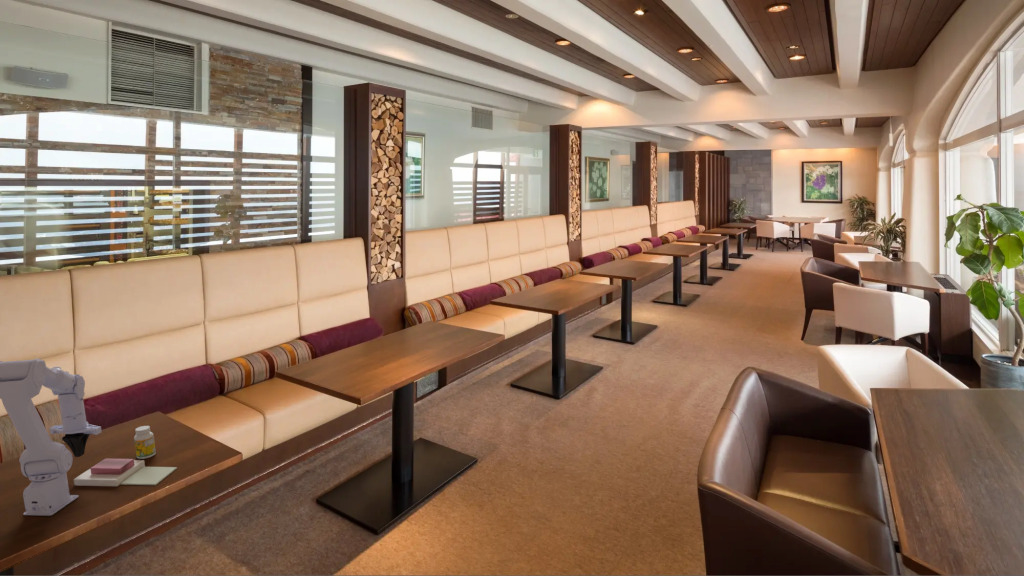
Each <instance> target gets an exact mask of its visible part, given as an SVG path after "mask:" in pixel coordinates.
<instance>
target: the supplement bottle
mask: <svg viewBox="0 0 1024 576" xmlns="http://www.w3.org/2000/svg"><path fill="white" fill-rule="evenodd" d="M134 431H135V435H134V437H133V441H134V442H133V443H134V448H135V455H136V456H135V457H136V458H137V459H138V460H144V459H149V458H151V457H153V456H155V455H156V454H157V453H156V444H155V443H156V442H155V436H154V433H153V432H152V431H151V426H150V425H141V426H138V427H137V428H135V430H134Z"/></svg>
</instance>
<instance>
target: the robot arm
mask: <svg viewBox="0 0 1024 576" xmlns="http://www.w3.org/2000/svg"><path fill="white" fill-rule="evenodd" d="M85 382H86V380H85V379H84V377H83V375H80V374H71V373H70V372H69V371H67V370H66V371H65V370H64V369H63V370H62V367H60V366H53V367H52V368H50V367H48V366H47V365H46V360H44V359H41V358H34V359H24V360H23V359H22V360H12V361H11V360H10V361H3V360H2V361H1V360H0V400H1V402H2V405H3V407H4V409H5V411H6V412H7V415H8V417H9V418H10V420H11V422H12V425H13V426H14V428H15V430H16V432H17V434H18V436H19V437H20V440H21V442H22V443H23V446H24V447H25V449H24V450H23V451H22V453H21V455H20V457H19V460H18V461H19V463H20V470H21V474H22V475H23V476H24V477H26V478H28V481H31V482H30V483H29V485H27V486H26V487H25V488H24V489H23V493H22V497H23V503H24V508H25V511H24V512H23V515H24V516H45V517H46V516H49V517H50V516H53V515H54V514H56V513H57V512H58V511H61V510H62V509H63V508H65V507H66V506H67V505H69V504H70V503H72V502H74V501H75V500H77V499H78V498H79V495H78V494H70V488H69V481H68V476H67V475H68V474H67V473H68V471H69V470H71V469H72V468H71V467H72V465H73V460H74V459H73V456H74V457H75V458H80V457H82V456H83V455H85V452H86V451H85V450H86V445H87V443H88V440H89V437H90V435H95V436H97V435H99V434H101V433H102V426H98V425H94V424H90V423H89V421H87V416H86V409H85V403H84V397H85V388H86V387H85V385H86V383H85ZM42 387H44V388H47V389H50V390H51V393H52V394H53V396H57V398H58V400H57V401H58V407H59V411H60V413H59V414H60V419H61V424H57V425H55V424H54V425H53V426H50V427H49V432H48V431H47V428H46V426H45V424H44V422H43V420H42V418H41V416H40V415H39V412H38V410H37V408H36V405H35V404H34V401H33V399H34V397H36V396H38V395H39V394H40V393H41V389H42ZM49 434H50V435H55V434H65V435H64V436H62V438H61V440H62V441H63V442H64V443H65V444H66V445H67V446H68V447H69V448H70V450H69V449H68V448H67V447H66V445H65V444H64V443H61V442H58V441H54V440H52V439H51V437H50V435H49Z"/></svg>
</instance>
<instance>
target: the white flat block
mask: <svg viewBox="0 0 1024 576" xmlns="http://www.w3.org/2000/svg"><path fill="white" fill-rule="evenodd" d="M145 463H146V462H145V460H144V459H134V466H132V467H131V468H129V469H128V470H127V471H125V472H124V473H122V474H121V475H104V474H91V469H90V468H89V469H87V470H86V471H84V472H83V473H81V474H80V475H78V476H76V477H74V478H73V485H74V486H80V487H81V486H82V487H83V486H85V487H89V486H90V487H118V486H121V484H120V483H122V482H123V481H124V480H126V479H127V478H128V477H130V476H131V475H133V474H134V473H135V472H137V471H138V470H140V469H141V468H142V467H146V465H145Z"/></svg>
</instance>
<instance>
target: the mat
mask: <svg viewBox="0 0 1024 576" xmlns="http://www.w3.org/2000/svg"><path fill="white" fill-rule="evenodd" d="M177 469H178V467H177V466H175V467H174V466H145V467H142V468H141V469H140V470H138V471H137V472H135V473H134V474H133V475H131V476H130V477H128V478H127V479H126V480H124V481H123V482H122V483H120V486H121V485H125V486H126V485H127V486H157V485H158V484H159V483H160V482H162V481H163V480H164V479H165V478H167V477H168V476H169V475H171V474H172V473H173V472H175V470H177Z"/></svg>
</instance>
